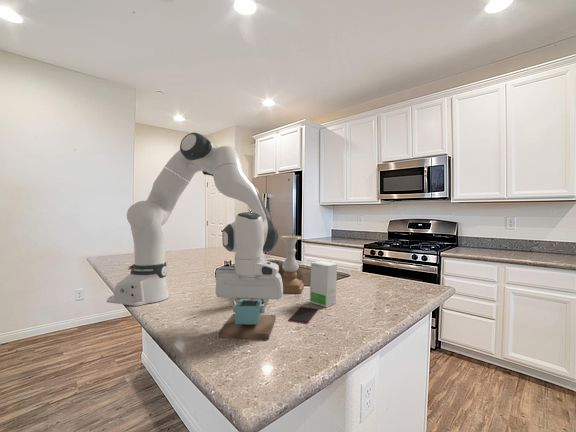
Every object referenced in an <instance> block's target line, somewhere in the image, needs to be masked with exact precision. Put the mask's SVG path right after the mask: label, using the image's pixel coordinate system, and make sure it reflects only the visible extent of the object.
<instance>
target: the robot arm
mask: <svg viewBox="0 0 576 432" xmlns="http://www.w3.org/2000/svg"><path fill="white" fill-rule="evenodd" d="M198 172H202V174H203V175H206V176H209V177H210V176H211V177H213V183H214V185H215V187H216V188H215V189H217V190H218V192H219V193H221V194H222V195H223V196H225V197H227V198H231V199H234V200H238V201H240V202H242V203H244V204H246V205H247V207H249V209H250V210H251V212H249V211H248V212H246V211H245V212H240V213H237V214H236V217H235V221H234V222H232V223H228V224H227V225H226V226H224V228H223V229H222V236H221V237H222V246H223V247H224V248H225V249H226V250H227V251H228V252H231V253H235V254H234V265H233V266H231V265H229V266H225V265H221V266H220V267H218V268H217V269H216V270H215V279H216V282H215V283H216V284H215V290H214V291H215V296H217V298H219V299H220V298H221V299H228V301H229V303H230V305H231V306H232V309H233V311H232V312H233V313H235V306H236V305H237V303H236V299H263V300H264V303H263V305H262V306H261V307H260V313H261V314H262V315H266V312H267V311H266V307H267V305H268V304H269V301H270V300H281V299H282V297H283V295H284V293H283V283H282V280H283V278H282V274H280V272H279V270H280V267H279V266H280V265H279V264H277V263H276V262H275V263H274V262H272V261H269V260H267V259H265V252H268V253H269V252H271V251H272V250H273V249H274V248H275V247H276V246H277V244H278V242H279V232H278V229H277V228H276V226H275V224H274V223H273V221H272V219H271V217H270V215H269V212H268V210H267V208H266V205H265V203H264V200H263V198H262V196H261V193H260V192H259V190H258V187H257V186H256V185H254V183H252V182H251V181H250V180H249V179H248V177H247V176H246V174H245V173H244V168H243V165H242V161H241V159H240V156H239V154H238V152H237V151H236V149H235V148H234V147H232V146H229V145H222V146H217V145H216V144H214V143H213V142H211V140H209V139H208V138H207V137H206V136H204V135H202V134H200V133H198V132H191V133H188V134H186V135H185V136H183V138H182V139H181V141H180V144H179V150H177V152H175V153H174V154H173V155H172V157H170V159H169V160H168V161H167V163H166V164H165V165H164V167H163V168H162V169H161V171H160V173H158V174H159V175H157V177H156V179H155V180H154V182H153V184H152V186H151V187H152V188H151V190H150V192H149V195H148V197H147V198H146V199H145V200H139V201H137V202H135V203H133V204H132V205H131V206H129V208H128V209H127V211H126V220H127V221H128V223H129V225H130V231H131V235H132V239H133V246H134V247H133V248H134V263H133V264H132V265H130V266H128V269H127V270H130V272H129V274H128V275H127V276H125V277H124V278H122V279H121V280H120V281H119V282H118V283H117V284H116V285H115V286H114V290H113V295H111V296H109V297H107V299H106V303H110V304H118V305H125V306H133V307H138V306H142V305H145V304H146V305H147V304H152V303H158V302H162V301H164V300H166V299H168V298H170V296H171V295H170V291H169V288H168V283H167V277H166V276H167V273H168V271H167V270H168V269H167V262H166V242H165V239H164V236H163V235H164V233H163V230H162V226H164V225H165V224H166V223H167V221H168V219H169V218H170V216H171V214H172V212H173V210H174V209H175V206H176V205H177V202H178V201H179V199H180V197H181V195H182V194H183V192H184V191H185V189H186V188H187V186H188V185H189V184H190V182H191V180H192V179H193V177H194V176H195V174H197V173H198ZM263 251H264V253H263Z"/></svg>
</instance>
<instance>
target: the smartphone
mask: <svg viewBox="0 0 576 432" xmlns="http://www.w3.org/2000/svg"><path fill="white" fill-rule="evenodd" d="M318 312H319V309H318V308H311V307H305V306H301V307H299V308H298V309H297V310H296V311H295V312H294V313H293V314H292V315H291V316H290V317H289V318H288V319H287V321H288V322H290V323H295V324H303V325H308V324H309V323H310V322H311V321H312V319H313V318H314V317H315V316H316V315H317V313H318Z"/></svg>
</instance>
